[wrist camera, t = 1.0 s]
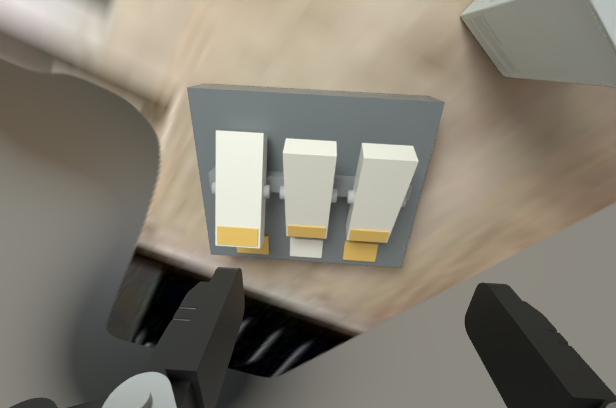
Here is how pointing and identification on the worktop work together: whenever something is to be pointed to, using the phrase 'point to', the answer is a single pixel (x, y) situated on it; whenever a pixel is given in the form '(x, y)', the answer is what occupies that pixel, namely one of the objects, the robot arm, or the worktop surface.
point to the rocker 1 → (240, 188)
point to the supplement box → (548, 38)
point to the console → (315, 126)
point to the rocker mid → (308, 186)
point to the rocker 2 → (379, 190)
